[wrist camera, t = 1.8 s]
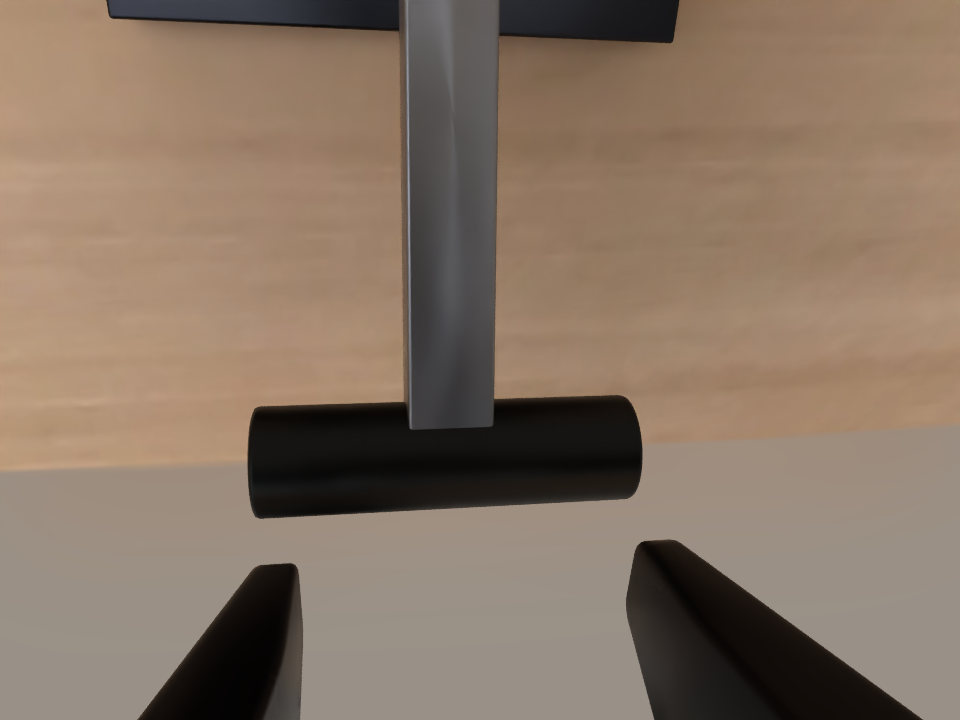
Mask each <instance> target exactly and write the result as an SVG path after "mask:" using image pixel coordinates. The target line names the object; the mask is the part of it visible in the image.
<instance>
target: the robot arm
mask: <svg viewBox="0 0 960 720" xmlns="http://www.w3.org/2000/svg"><path fill="white" fill-rule="evenodd" d="M626 611H627V618H628V622H629V626H630V629H631V633H632V637H633V641H634V644H635V648H636V652H637V656H638V660H639V664H640V667H641V671H642V675H643V679H644V683H645V686H646V690H647V694H648V697H649V701H650V705H651V709H652V713H653V716H654V720H923V719H921V718H920V717H919V716H917V715H916V714H914V713H913V712H912V711H910V710H909V709H907V708H906V707H905V706H903V705H902V704H901V703H899V702H898V701H897V700H895V699H894V698H892V697H891V696H890V695H888V694H887V693H886V692H884V691H883V690H882V689H880V688H879V687H877V686H876V685H874V684H873V683H872V682H870V681H869V680H868V679H866V678H865V677H864V676H862V675H861V674H860V673H858V672H857V671H855V670H854V669H853V668H851V667H850V666H849V665H847V664H846V663H845V662H843V661H842V660H840V659H839V658H838V657H836V656H835V655H833V654H832V653H831V652H829V651H828V650H827V649H825V648H824V647H823V646H821V645H820V644H818V643H817V642H816V641H814V640H813V639H812V638H810V637H809V636H807V635H806V634H805V633H803V632H802V631H800V630H799V629H798V628H796V627H795V626H794V625H792V624H791V623H790V622H788V621H787V620H786V619H784V618H783V617H781V616H780V615H779V614H777V613H776V612H775V611H773V610H772V609H770V608H769V607H768V606H766V605H765V604H764V603H762V602H761V601H759V600H758V599H757V598H755V597H754V596H753V595H751V594H750V593H748V592H747V591H746V590H744V589H743V588H742V587H740V586H739V585H737V584H736V583H735V582H733V581H732V580H730V579H729V578H728V577H726V576H725V575H723V574H722V573H721V572H720V571H718V570H717V569H716V568H714V567H713V566H711V565H710V564H709V563H707V562H706V561H705V560H703V559H702V558H700V557H699V556H698V555H696V554H695V553H693V552H692V551H691V550H689V549H688V548H687V547H685V546H684V545H682V544H681V543H679V542H678V541H675V540H654V541H644V542H641V543H640V544H639V545H638V546H637V548H636V550H635V553H634V559H633V564H632V569H631V575H630V580H629V586H628V591H627V597H626ZM302 654H303V622H302V609H301V596H300V583H299V573H298V569H297V567H296V565H294V564H291V563H287V564H270V565H260V566H257V567H255V568H254V569H253V570H252V571H251V572H250V574H249V575H248V576H247V578H246V579H245V580H244V582H243V583H242V584H241V585H240V587H239V588H238V589H237V591H236V592H235V593H234V594H233V596H232V597H231V599H230V600H229V601H228V602H227V604H226V605H225V606H224V608H223V609H222V610H221V611H220V613H219V614H218V616H217V617H216V618H215V619H214V621H213V622H212V623H211V625H210V626H209V627H208V628H207V630H206V631H205V633H204V634H203V635H202V636H201V638H200V639H199V640H198V641H197V643H196V644H195V645H194V647H193V648H192V649H191V651H190V652H189V653H188V655H187V656H186V657H185V658H184V660H183V661H182V662H181V664H180V665H179V666H178V668H177V669H176V670H175V671H174V673H173V674H172V676H171V677H170V678H169V679H168V681H167V682H166V683H165V685H164V686H163V687H162V689H161V690H160V691H159V692H158V694H157V695H156V696H155V698H154V699H153V700H152V701H151V703H150V704H149V705H148V707H147V708H146V709H145V711H144V712H143V713H142V715H141V716H140V717H139V719H138V720H300V707H301V681H302Z"/></svg>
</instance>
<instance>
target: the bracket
mask: <svg viewBox="0 0 960 720" xmlns="http://www.w3.org/2000/svg"><path fill="white" fill-rule="evenodd" d="M106 1H107V7H108V13H109V16H110V18H112V19H129V20H152V21H175V22H197V23H220V24H243V25H266V26H288V27H311V28H334V29H357V30H379V31H399V0H106ZM678 6H679V0H500V8H499V36H516V37H538V38H561V39H584V40H607V41H629V42H652V43H672V42H673V39H674V32H675V26H676V19H677V13H678Z"/></svg>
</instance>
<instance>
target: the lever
mask: <svg viewBox="0 0 960 720" xmlns="http://www.w3.org/2000/svg"><path fill="white" fill-rule="evenodd" d="M499 8H500V0H399V39H400V121H401V203H402V285H403V367H404V402H386V403H355V404H323V405H291V406H260V407H257V408H255V409H254V411H253V414H252V417H251V421H250V427H249V437H248V486H249V496H250V502H251V507H252V511H253V513H254V515H255V517H257V518H260V519H264V518H283V517H301V516H318V515H337V514H338V515H339V514H357V513H374V512H393V511H412V510H431V509H448V508H449V509H450V508H468V507H486V506H505V505H524V504H540V503H560V502H578V501H579V502H580V501H595V500H596V501H598V500H617V499H628V498H630V497H631V496H633V495H634V493H635V492H636V490H637V488H638V485H639V482H640V477H641V471H642V439H641V432H640V427H639V423H638V419H637V416H636V413H635V410H634V408H633V406H632V404H631V403H630V401H629V400H628V399H627V398H626V397H624V396H621V395H607V396H576V397H544V398H512V399H494V372H495V299H496V226H497V154H498V81H499Z"/></svg>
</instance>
